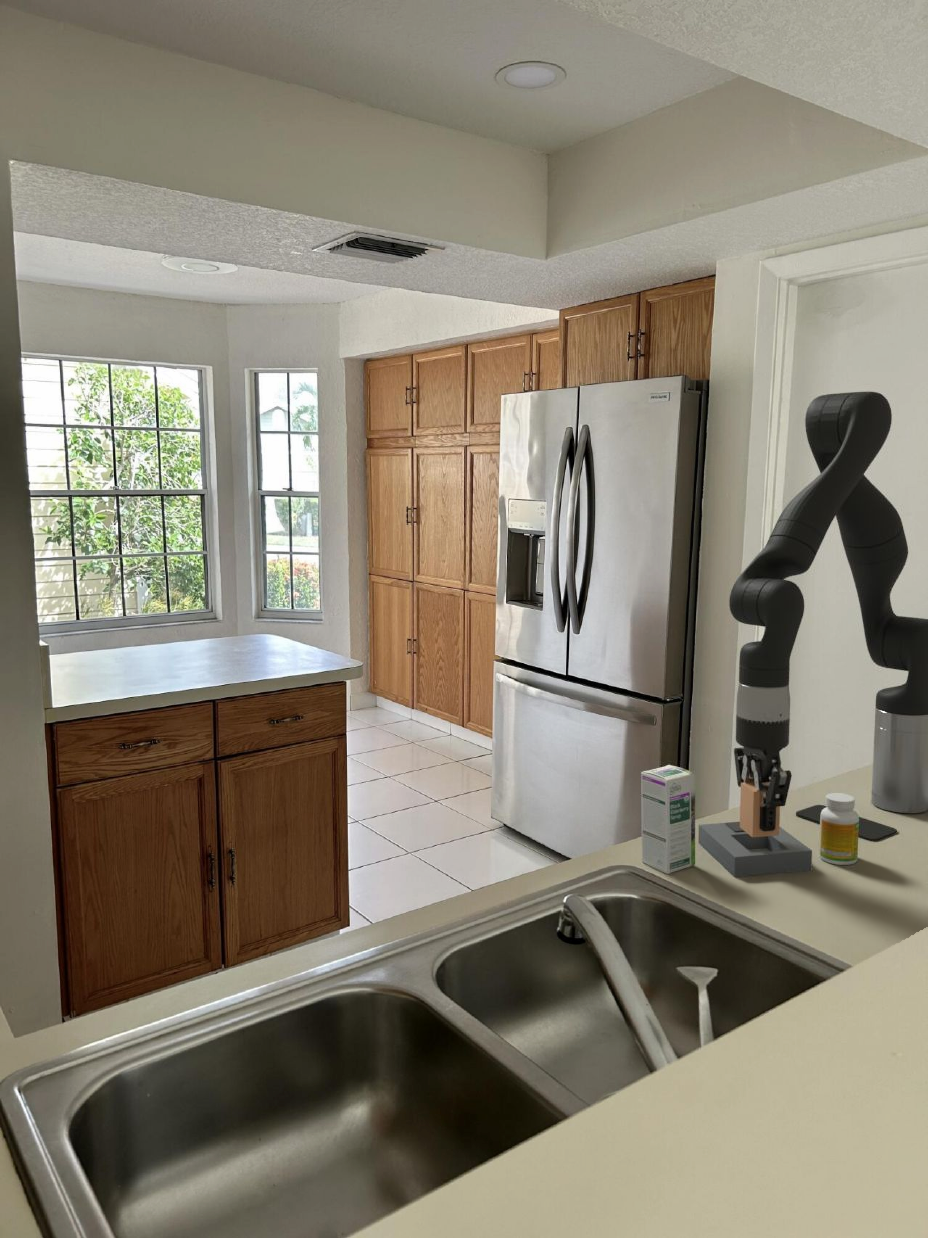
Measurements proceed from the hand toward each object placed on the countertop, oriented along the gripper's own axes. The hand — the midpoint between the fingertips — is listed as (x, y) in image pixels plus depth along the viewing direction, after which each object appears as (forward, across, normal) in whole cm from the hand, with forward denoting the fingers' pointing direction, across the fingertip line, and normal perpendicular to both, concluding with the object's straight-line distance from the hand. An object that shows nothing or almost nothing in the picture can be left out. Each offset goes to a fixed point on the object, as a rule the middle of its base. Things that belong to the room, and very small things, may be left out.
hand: (759, 823), depth 137 cm
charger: (+1, 0, 0) cm, 1 cm away
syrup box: (+6, +2, +14) cm, 15 cm away
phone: (+6, +12, -21) cm, 25 cm away
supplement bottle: (+6, -1, -12) cm, 14 cm away
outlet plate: (+6, +2, 0) cm, 6 cm away
